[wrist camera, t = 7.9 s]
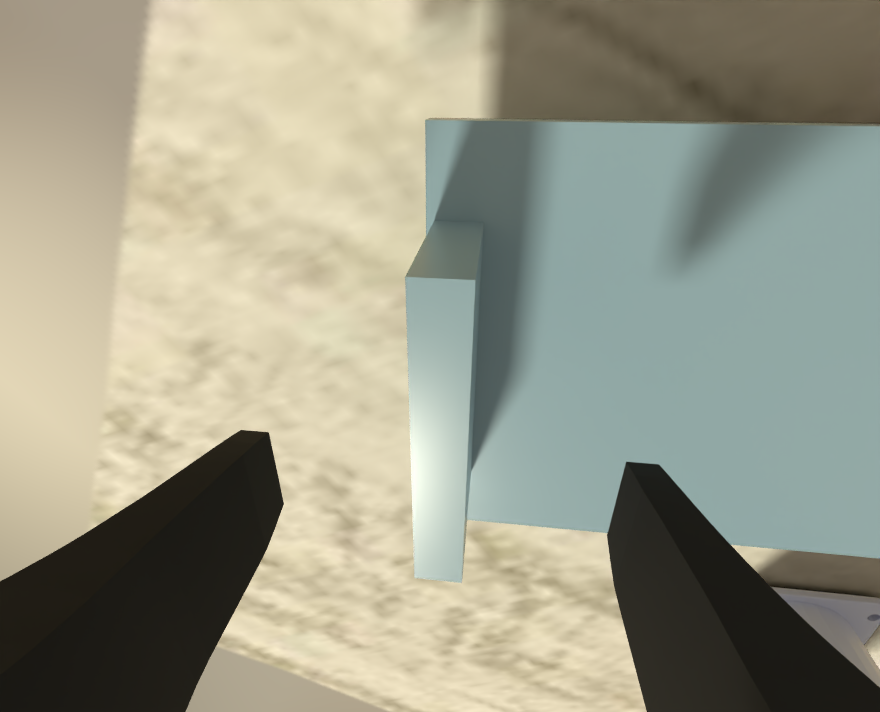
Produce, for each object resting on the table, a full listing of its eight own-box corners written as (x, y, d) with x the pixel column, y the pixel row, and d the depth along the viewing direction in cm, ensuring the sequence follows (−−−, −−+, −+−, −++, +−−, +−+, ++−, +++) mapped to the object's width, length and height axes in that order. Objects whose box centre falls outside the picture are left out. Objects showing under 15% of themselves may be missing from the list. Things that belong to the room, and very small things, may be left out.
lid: (1059, 555, 15) (1264, 728, 11) (431, 499, 17) (408, 628, 13) (1465, 131, 9) (2234, 168, 5) (430, 118, 11) (388, 136, 7)
